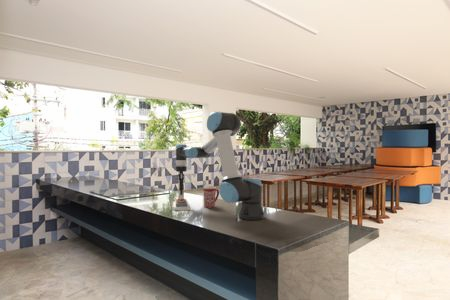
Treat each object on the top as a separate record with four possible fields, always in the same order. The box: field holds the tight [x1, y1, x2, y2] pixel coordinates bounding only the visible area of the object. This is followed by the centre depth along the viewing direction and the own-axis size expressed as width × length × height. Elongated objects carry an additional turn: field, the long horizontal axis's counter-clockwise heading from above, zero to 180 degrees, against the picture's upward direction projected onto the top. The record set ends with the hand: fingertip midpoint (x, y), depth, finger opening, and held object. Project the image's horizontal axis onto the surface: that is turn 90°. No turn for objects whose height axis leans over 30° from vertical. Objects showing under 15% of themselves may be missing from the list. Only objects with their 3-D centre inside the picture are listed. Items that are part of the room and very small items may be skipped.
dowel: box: [177, 183, 185, 201], centre depth 213 cm, size 4×4×12 cm
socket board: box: [172, 198, 191, 211], centre depth 208 cm, size 11×22×4 cm, turn 10°
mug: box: [202, 186, 220, 209], centre depth 210 cm, size 13×9×14 cm
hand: (181, 198), depth 213 cm, fingers closed on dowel, 4 cm apart
